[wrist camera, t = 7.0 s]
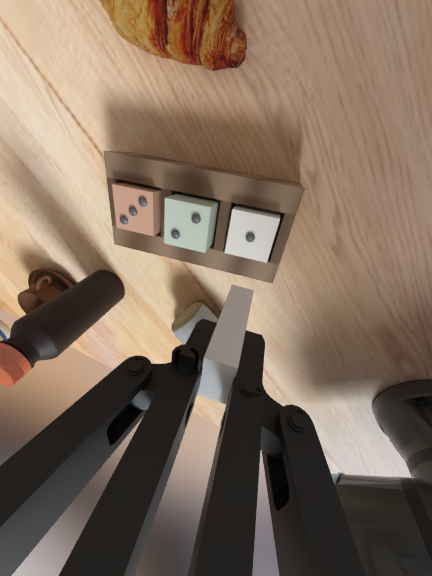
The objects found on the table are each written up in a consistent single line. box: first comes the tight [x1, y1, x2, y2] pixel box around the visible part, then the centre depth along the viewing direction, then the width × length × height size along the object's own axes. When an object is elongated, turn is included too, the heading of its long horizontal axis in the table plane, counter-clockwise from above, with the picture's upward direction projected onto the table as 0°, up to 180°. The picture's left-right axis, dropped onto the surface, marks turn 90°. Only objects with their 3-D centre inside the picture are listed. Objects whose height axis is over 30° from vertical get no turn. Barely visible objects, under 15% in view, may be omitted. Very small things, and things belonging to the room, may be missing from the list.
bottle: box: [0, 270, 125, 386], centre depth 32 cm, size 7×7×20 cm
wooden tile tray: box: [104, 151, 305, 283], centre depth 27 cm, size 22×11×5 cm, turn 82°
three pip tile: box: [112, 182, 161, 236], centre depth 27 cm, size 5×5×4 cm
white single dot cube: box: [225, 204, 280, 263], centre depth 25 cm, size 5×5×4 cm
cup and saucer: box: [18, 269, 74, 314], centre depth 43 cm, size 12×12×6 cm
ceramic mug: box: [172, 302, 219, 344], centre depth 37 cm, size 10×8×7 cm
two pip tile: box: [164, 194, 219, 253], centre depth 25 cm, size 5×5×4 cm
